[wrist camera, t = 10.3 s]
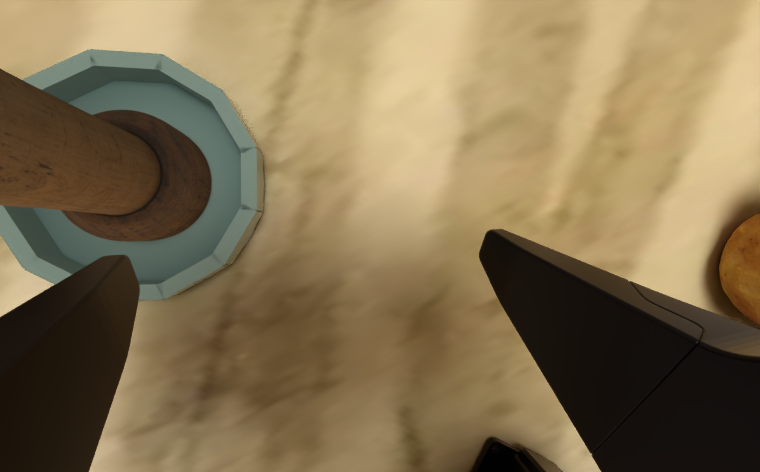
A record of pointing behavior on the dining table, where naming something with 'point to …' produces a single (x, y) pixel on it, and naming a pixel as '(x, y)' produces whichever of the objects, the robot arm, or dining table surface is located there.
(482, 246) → the robot arm
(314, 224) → the dining table surface
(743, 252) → the bread roll
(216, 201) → the glazed dish
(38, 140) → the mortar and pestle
